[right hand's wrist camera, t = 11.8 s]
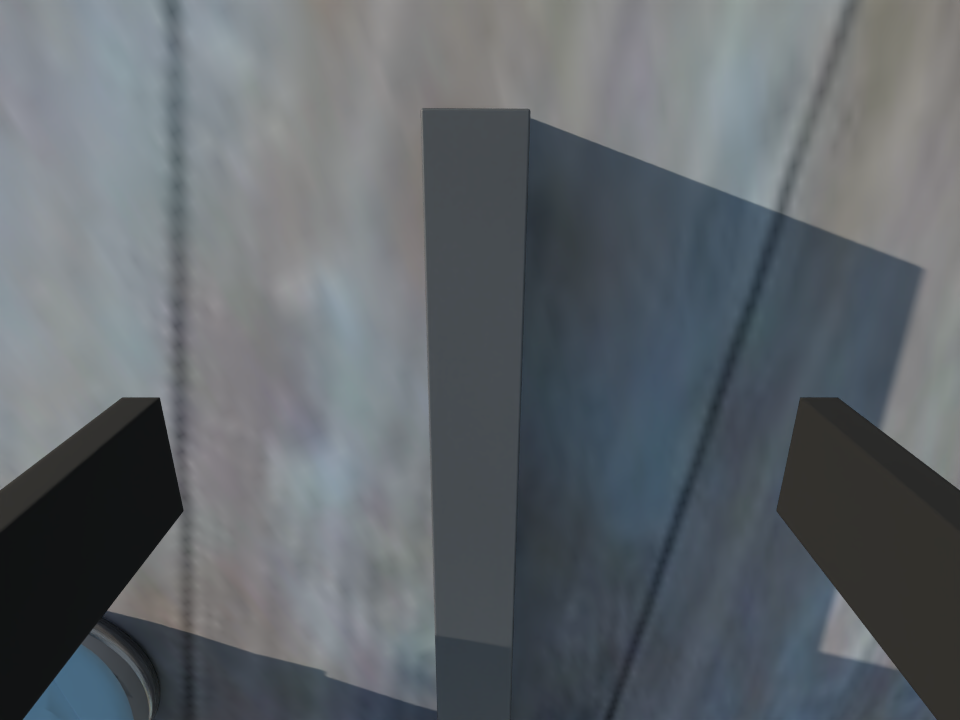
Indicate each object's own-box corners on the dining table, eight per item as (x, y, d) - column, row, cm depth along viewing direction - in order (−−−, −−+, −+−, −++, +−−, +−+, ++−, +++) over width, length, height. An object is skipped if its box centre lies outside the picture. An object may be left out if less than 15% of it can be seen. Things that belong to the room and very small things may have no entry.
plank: (432, 112, 31) (420, 108, 25) (518, 112, 31) (530, 108, 25) (446, 805, 51) (442, 908, 44) (500, 805, 51) (504, 908, 44)
